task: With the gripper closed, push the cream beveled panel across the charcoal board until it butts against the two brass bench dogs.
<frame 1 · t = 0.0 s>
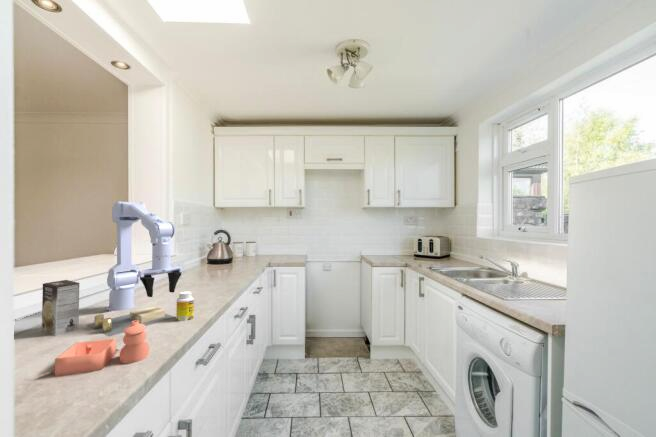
hand: (161, 294, 102), 10 cm above the countertop, tool pointing down, fingers open, 7 cm apart
board: (132, 323, 102), on the countertop
coffee box: (60, 332, 93), on the countertop
cream beveled panel: (147, 317, 105), point 1 cm above the countertop, touching board
bench dogs: (103, 329, 94), resting on board
pottery: (108, 362, 74), on the countertop
supplement bottle: (185, 321, 105), on the countertop
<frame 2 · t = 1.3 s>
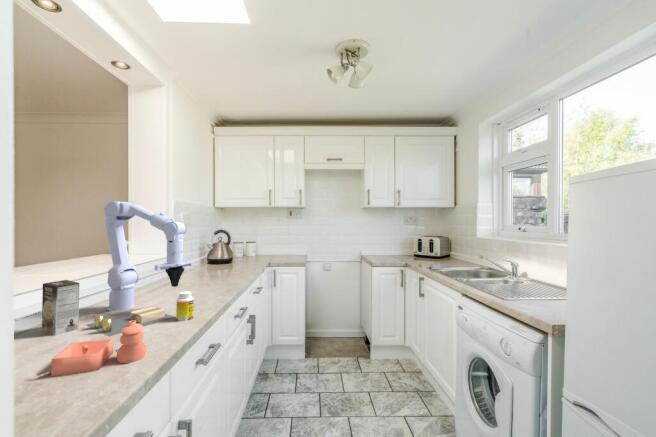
hand: (174, 286, 114), 10 cm above the countertop, tool pointing down, fingers closed
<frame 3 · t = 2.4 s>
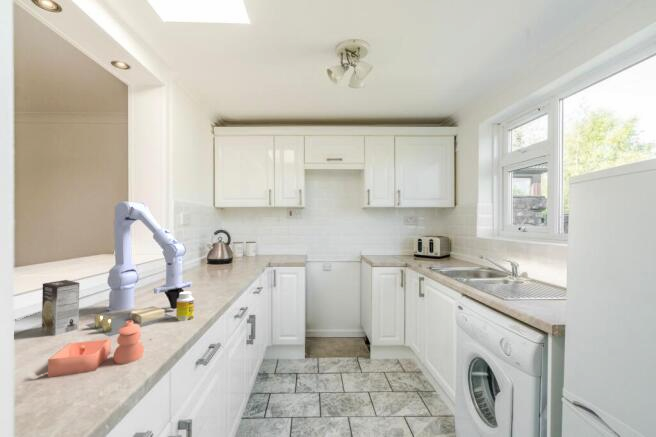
hand: (173, 308, 114), 2 cm above the countertop, tool pointing down, fingers closed
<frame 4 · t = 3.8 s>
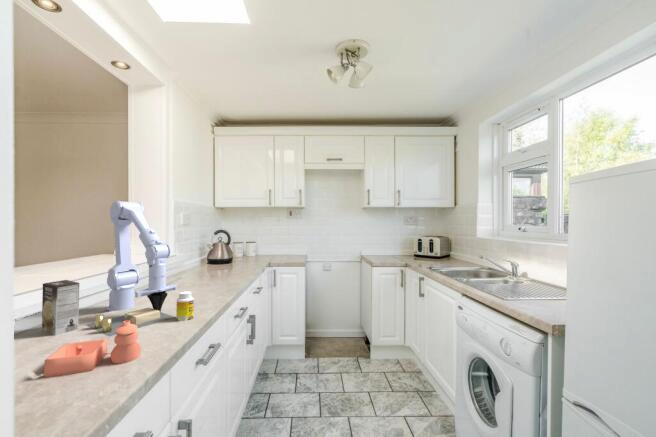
hand: (157, 312, 108), 2 cm above the countertop, tool pointing down, fingers closed
cream beveled panel: (142, 319, 104), point 1 cm above the countertop, touching board
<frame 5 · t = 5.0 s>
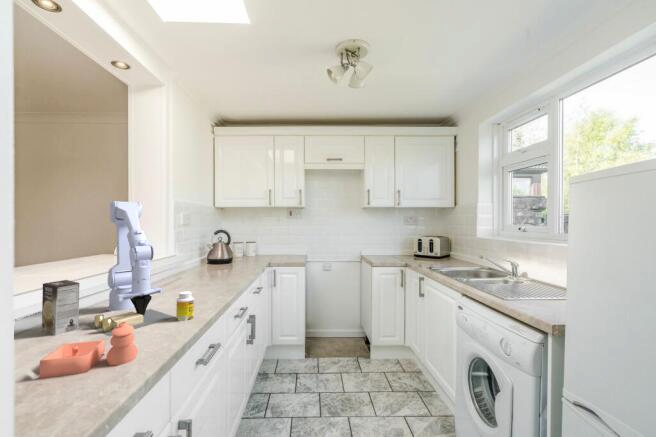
hand: (140, 316, 103), 2 cm above the countertop, tool pointing down, fingers closed
cream beveled panel: (124, 323, 99), point 1 cm above the countertop, touching board, gripper
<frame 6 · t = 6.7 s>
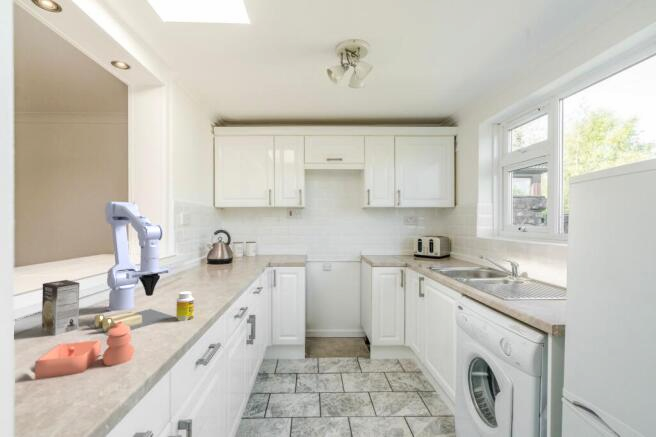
hand: (149, 295, 106), 9 cm above the countertop, tool pointing down, fingers closed
cream beveled panel: (123, 324, 98), point 1 cm above the countertop, touching board
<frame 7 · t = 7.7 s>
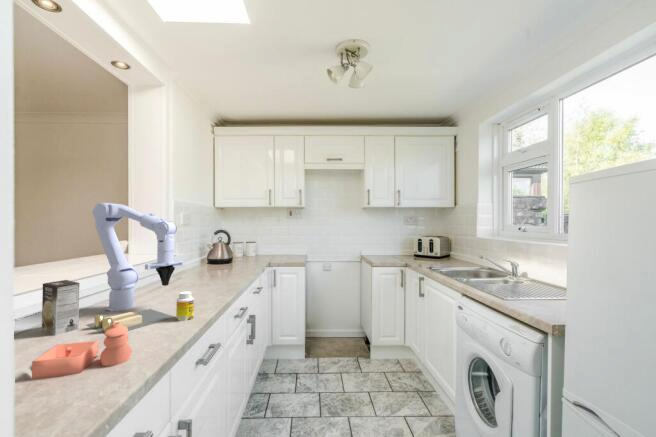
hand: (165, 285, 116), 10 cm above the countertop, tool pointing down, fingers closed
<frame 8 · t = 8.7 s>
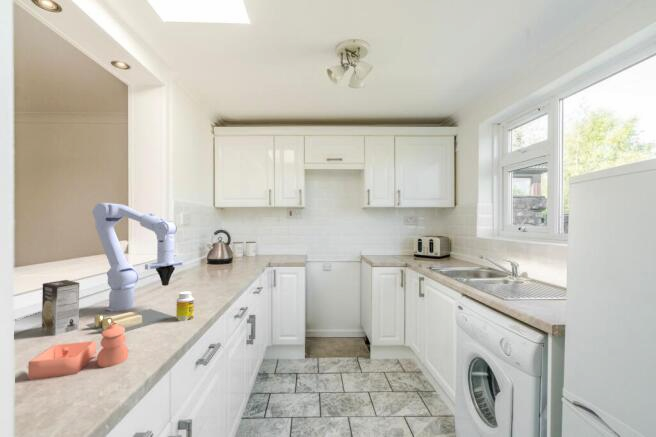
hand: (165, 285, 116), 10 cm above the countertop, tool pointing down, fingers closed
at the end: cream beveled panel 0.1 cm from the target spot, point 0.8 cm above the countertop; cream beveled panel moved 7.9 cm from its start; the gripper is holding nothing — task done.
